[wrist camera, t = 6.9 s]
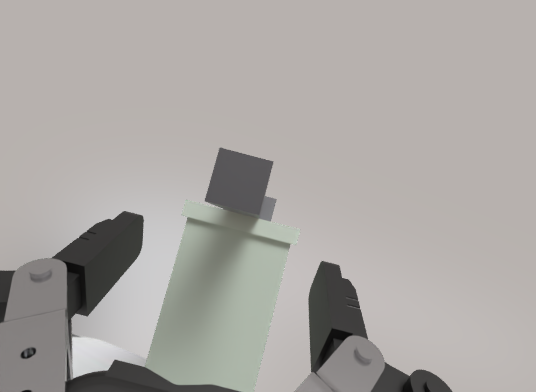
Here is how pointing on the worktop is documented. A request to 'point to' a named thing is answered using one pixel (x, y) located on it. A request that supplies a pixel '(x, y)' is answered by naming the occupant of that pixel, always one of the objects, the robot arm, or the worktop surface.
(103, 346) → the worktop surface
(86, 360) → the worktop surface
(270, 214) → the long gray t-shaped bar
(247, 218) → the tall capped green box
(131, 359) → the worktop surface
